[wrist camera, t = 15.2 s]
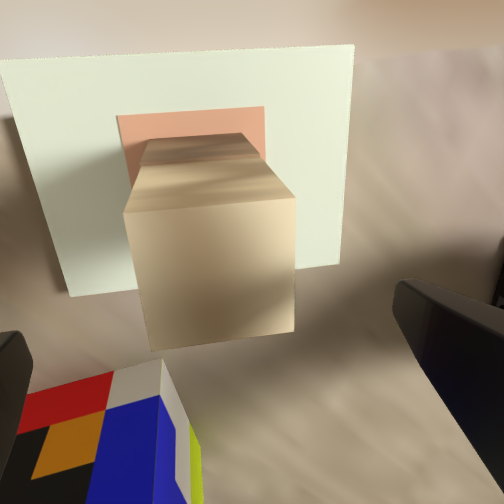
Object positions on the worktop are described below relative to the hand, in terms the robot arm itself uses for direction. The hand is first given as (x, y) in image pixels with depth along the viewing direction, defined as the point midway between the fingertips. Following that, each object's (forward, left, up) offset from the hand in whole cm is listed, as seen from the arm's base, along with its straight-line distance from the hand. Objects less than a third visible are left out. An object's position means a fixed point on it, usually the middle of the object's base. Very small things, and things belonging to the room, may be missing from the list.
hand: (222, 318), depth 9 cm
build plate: (0, 0, -13) cm, 13 cm away
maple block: (0, 0, -7) cm, 7 cm away
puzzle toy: (+8, +18, -13) cm, 24 cm away
